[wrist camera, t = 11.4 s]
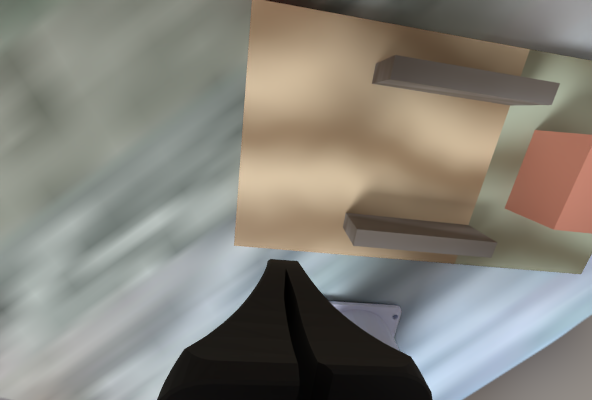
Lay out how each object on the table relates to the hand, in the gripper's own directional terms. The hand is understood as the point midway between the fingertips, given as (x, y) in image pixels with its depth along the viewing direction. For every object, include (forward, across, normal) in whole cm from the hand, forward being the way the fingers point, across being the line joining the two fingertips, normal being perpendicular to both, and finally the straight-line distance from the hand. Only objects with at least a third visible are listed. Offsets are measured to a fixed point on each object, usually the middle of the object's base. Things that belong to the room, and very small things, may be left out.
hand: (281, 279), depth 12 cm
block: (+8, -20, -5) cm, 23 cm away
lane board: (+9, -13, -5) cm, 17 cm away
